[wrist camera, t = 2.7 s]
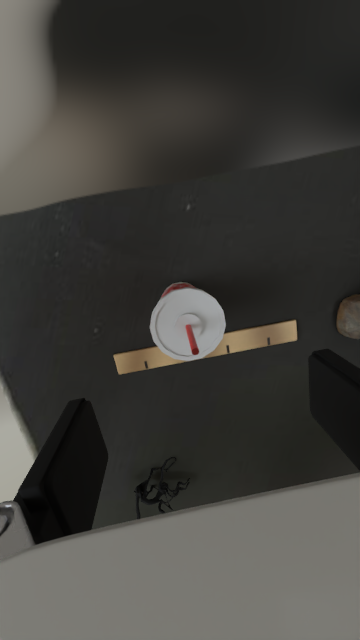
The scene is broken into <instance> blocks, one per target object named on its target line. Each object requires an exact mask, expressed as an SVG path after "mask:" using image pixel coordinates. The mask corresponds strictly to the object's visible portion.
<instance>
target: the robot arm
mask: <svg viewBox="0 0 360 640" xmlns="http://www.w3.org/2000/svg"><path fill="white" fill-rule="evenodd" d="M308 362H309V393H310V411H311V414H312V416H313V418H314V419H315V420H316V421H317V422H318V423H319V425H320V426H321V427H322V428H323V429H324V430H325V431H326V433H327V434H328V435H329V436H330V437H331V438H332V439H333V441H334V442H335V443H336V444H337V445H338V446H339V447H340V449H341V450H342V451H343V452H344V453H345V454H346V456H347V457H348V458H349V459H350V460H351V461H352V462H353V464H354V465H355V466H356V467H357V468H358V469H359V470H360V369H359V368H358V367H356V366H354V365H353V364H351V363H350V362H348V361H347V360H345V359H343V358H342V357H340V356H339V355H337V354H336V353H334V352H333V351H331V350H329V349H323V350H318V351H314V352H312V355H311V356H309V359H308ZM107 462H108V451H107V448H106V445H105V442H104V439H103V437H102V434H101V431H100V428H99V425H98V422H97V419H96V416H95V413H94V410H93V407H92V404H91V402H90V401H86V400H85V399H84V398H82V399H77V400H72V401H69V402H68V404H67V406H66V407H65V409H64V411H63V413H62V414H61V416H60V418H59V420H58V421H57V423H56V425H55V427H54V428H53V430H52V432H51V434H50V435H49V437H48V439H47V441H46V443H45V444H44V446H43V448H42V450H41V451H40V453H39V455H38V457H37V458H36V460H35V462H34V464H33V465H32V467H31V469H30V471H29V472H28V474H27V476H26V478H25V479H24V481H23V483H22V485H21V486H20V488H19V490H18V493H17V495H16V497H15V498H14V500H13V501H5V502H2V503H0V640H360V473H355V474H350V475H345V476H341V477H336V478H331V479H326V480H321V481H316V482H311V483H306V484H301V485H297V486H292V487H287V488H282V489H277V490H273V491H268V492H263V493H258V494H254V495H249V496H244V497H239V498H235V499H230V500H225V501H221V502H216V503H211V504H206V505H202V506H197V507H192V508H188V509H183V510H179V511H174V512H170V513H165V514H160V515H156V516H151V517H147V518H142V519H137V520H133V521H128V522H124V523H119V524H115V525H111V526H106V527H102V528H98V529H94V530H91V529H92V524H93V520H94V516H95V512H96V508H97V504H98V499H99V495H100V491H101V487H102V483H103V478H104V474H105V470H106V466H107Z"/></svg>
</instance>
